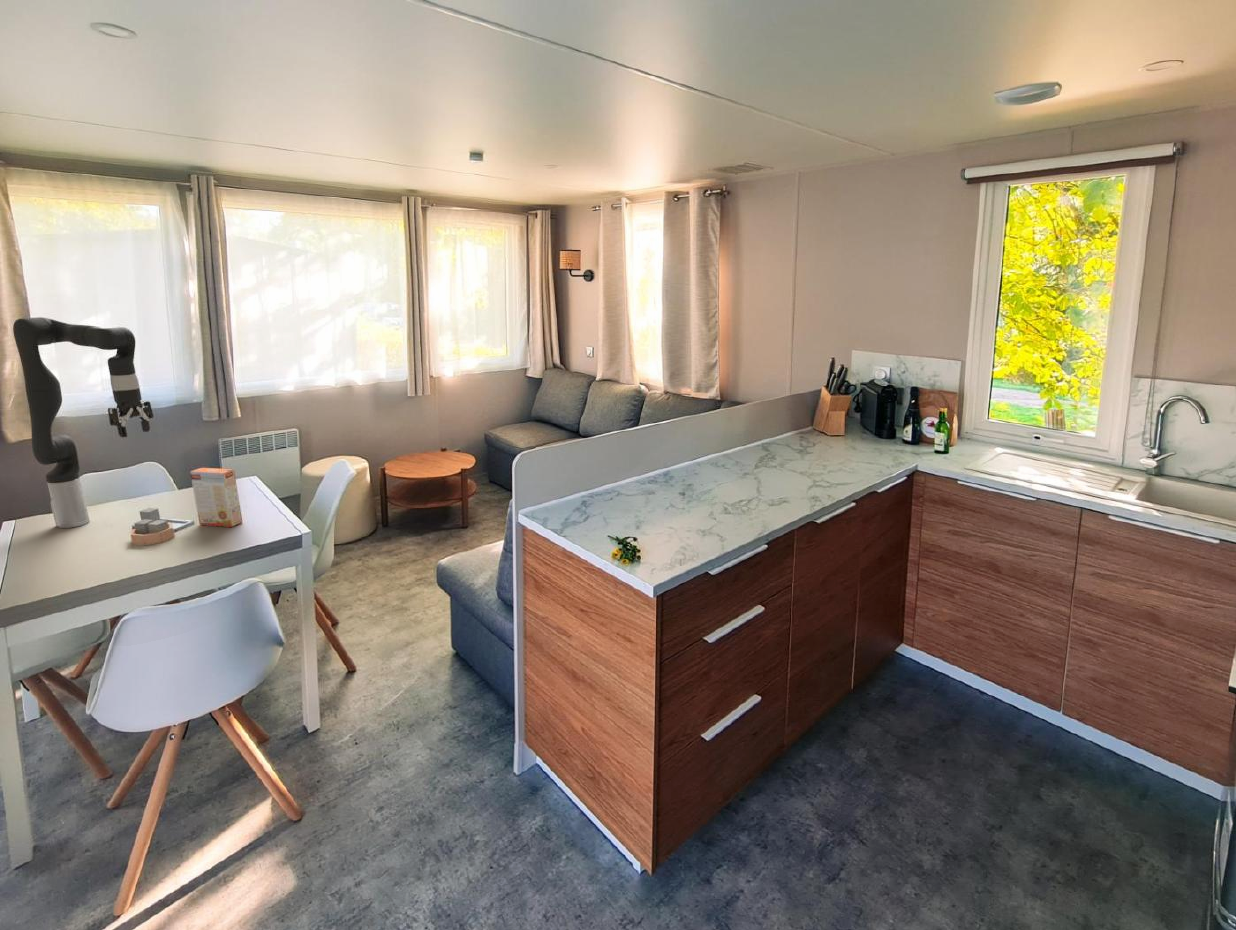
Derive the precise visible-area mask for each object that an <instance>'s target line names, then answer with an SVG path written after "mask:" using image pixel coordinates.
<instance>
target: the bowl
mask: <svg viewBox="0 0 1236 930" xmlns="http://www.w3.org/2000/svg"><path fill="white" fill-rule="evenodd" d="M173 538H175V532H174V528H173V524H172V523H168V529H165V530H163V531H161V532H157V533H151V534H145V535H143V534H137V533H136V529H134V528H132V529H131V531H130V539H131V543H132V545H136V546H148V545H153V544H160V543H164V542H166V541H168V540H170V539H173Z"/></svg>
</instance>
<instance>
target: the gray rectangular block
mask: <svg viewBox="0 0 1236 930" xmlns="http://www.w3.org/2000/svg"><path fill="white" fill-rule="evenodd" d="M151 522H154V520H149V519H144V520H141V519H140V520H139V521H136V522H134V524H133V525H135V528H136V533H137V534H143V535H145V534H149V529H148V524H149V523H151Z"/></svg>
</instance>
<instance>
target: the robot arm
mask: <svg viewBox="0 0 1236 930" xmlns="http://www.w3.org/2000/svg"><path fill="white" fill-rule="evenodd" d="M12 329H13V330H12V332H13V337H14V340H15V345H16V348H17V352H18V354H19V357H20V363H21V367H22V373H23V380H24V385H25V386H24V387H25V392H26V393H25V394H26V399H27V404H28V411H29V416H30V425H31V427H30V428H31V448H32V453H33V456H34V458H35V460H36V461H37V462H38V463H39V464H41V465H45V466H46V465H47V466H48V465H53V464H55V466H54V467H53V469H51V470H50V471H48V472H47V473H46V474H45V479H46V480H45V481H46V483H47V486H48V487H47V488H48V491H49V496H50V502H49V503H50V508H51V511H52V512H51V513H52V515H53V519H54V523H55V526H57V528H60V529H70V528H71V529H72V528H76V527H80V526H84V525H87V524H88V523H89V522H90V521H91V520H90V517H89V512H88V508H87V503H86V499H85V494H84V491H83V486H82V482H81V478H80V477H81V476H80V462H79V455H78V450H77V445H76V443H75V442H74V440H73V439H72V438H71V437H70V436H68V435H66V434H60V435H54V436H52V427H53V424H54V421H55V419H56V417H57V415H58V412H59V411H60V409H61V407H62V404H63V403H62V402H63V395H62V389H61V383H60V381H59V379H58V378H57V377H56V375H55V373H53V372H52V371H51V370H50V368H48V367H47V366H46V365H45V363H44V362H43V359H42V357H41V354H40V350H39V346H47V345H52V344H56V343H63V342H65V343H66V342H68V343H72V344H73V345H75V346H76V345H77V346H81V347H91V348H96V349H98V350H99V349H100V350H104V351H113V350H116V354H115V355H114V356H112V357H109V358H107V366H108V372H109V375H110V376H109V377H110V386H111V391H112V395H113V400H114V402H115V403H116V407H108V408H107V414H108V419H109V425H110V426H113V427H116V428H117V432H118V436H120V438H127V437H128V432H127V427H126V426H125V425H126V423H127V422H128V420H129V419H130V418H131V419H132V418H134V417H136V418H138V419H139V420H140V424H141V429H142V432H144V433H145V432H146V433H149V432H150V430H151V426H150V419H153V418H154V413H153V409H152V405H151V404H152V403H151V402H150V401H148V400H147V401H146V400H144V401H143V400H142V399H143V398H142V393H141V389H140V384H139V378H138V376H137V373H136V368H135V363H134V359H135V351H136V337H135V335H134V333H133V332H132V331H131V330H130V329H129V328H127V327H123V326H119V327H107V328H105V327H104V328H103V327H101V326H95V325H90V324H89V325H88V324H74V323H73V324H72V323H67V322H63V321H59V320H57V319H53V318H50V317H49V318H48V317H42V316H41V317H39V316H38V317H25V318H23V317H22V318H17V319H16V320H15V321H14V323H13V328H12Z"/></svg>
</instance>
